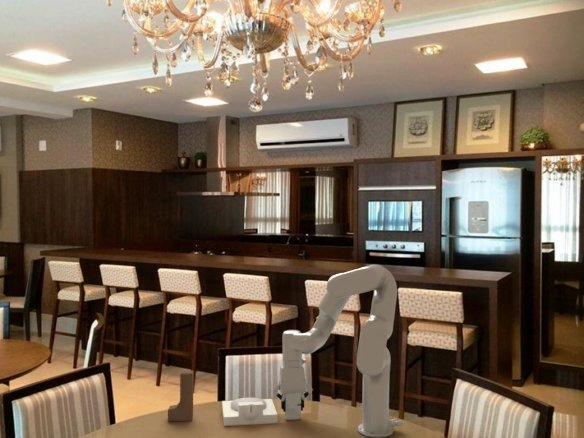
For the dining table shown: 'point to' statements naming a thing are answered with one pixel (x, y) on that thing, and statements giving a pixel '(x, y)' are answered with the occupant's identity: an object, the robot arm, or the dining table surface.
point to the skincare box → (293, 406)
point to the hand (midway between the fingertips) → (292, 409)
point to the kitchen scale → (249, 411)
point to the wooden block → (183, 399)
